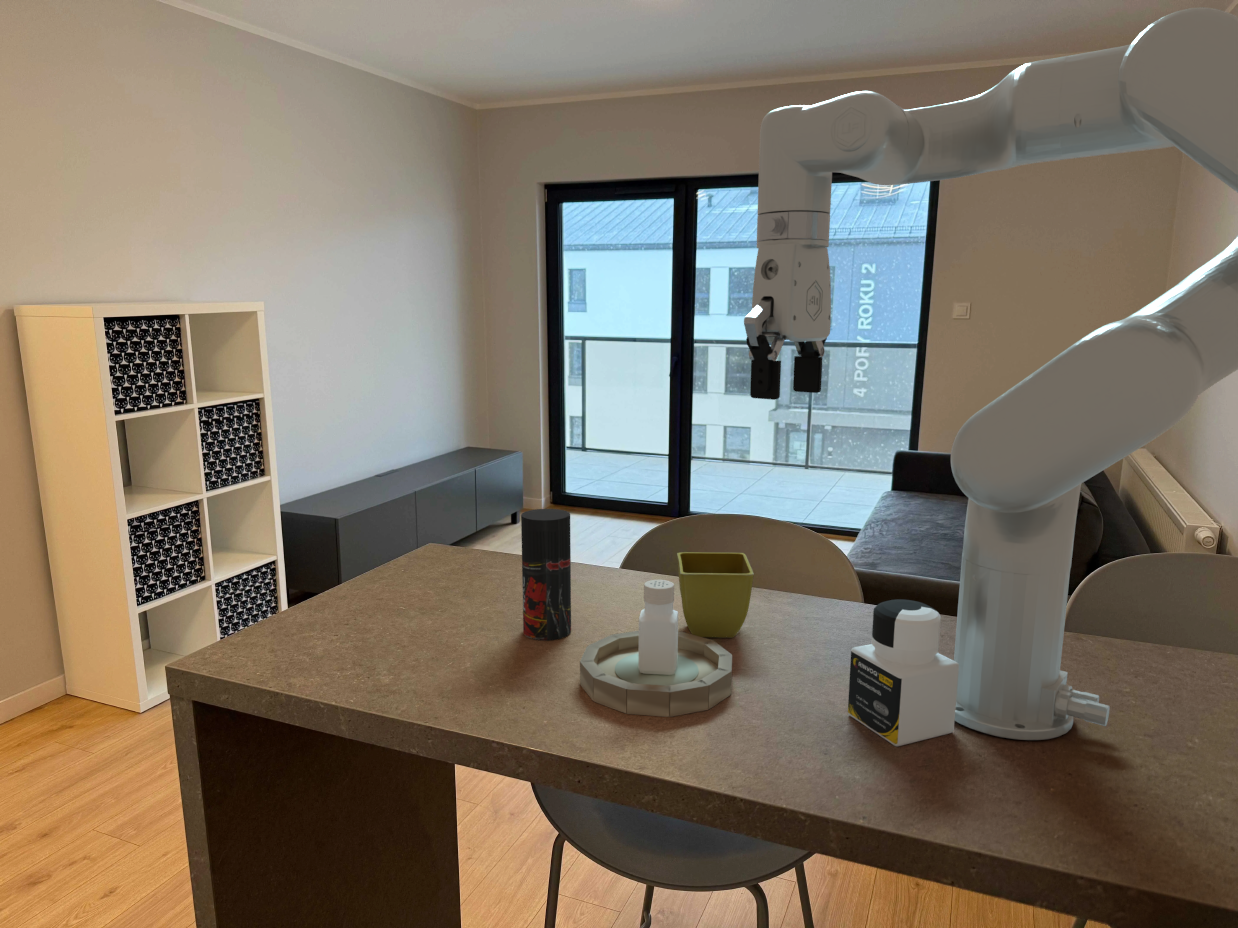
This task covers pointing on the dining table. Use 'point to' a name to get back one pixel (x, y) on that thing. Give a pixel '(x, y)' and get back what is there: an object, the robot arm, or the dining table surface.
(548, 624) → the deodorant
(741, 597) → the flower pot
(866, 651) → the medicine bottle
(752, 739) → the dining table surface
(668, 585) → the pepper shaker
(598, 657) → the tray
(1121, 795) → the dining table surface
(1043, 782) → the dining table surface
